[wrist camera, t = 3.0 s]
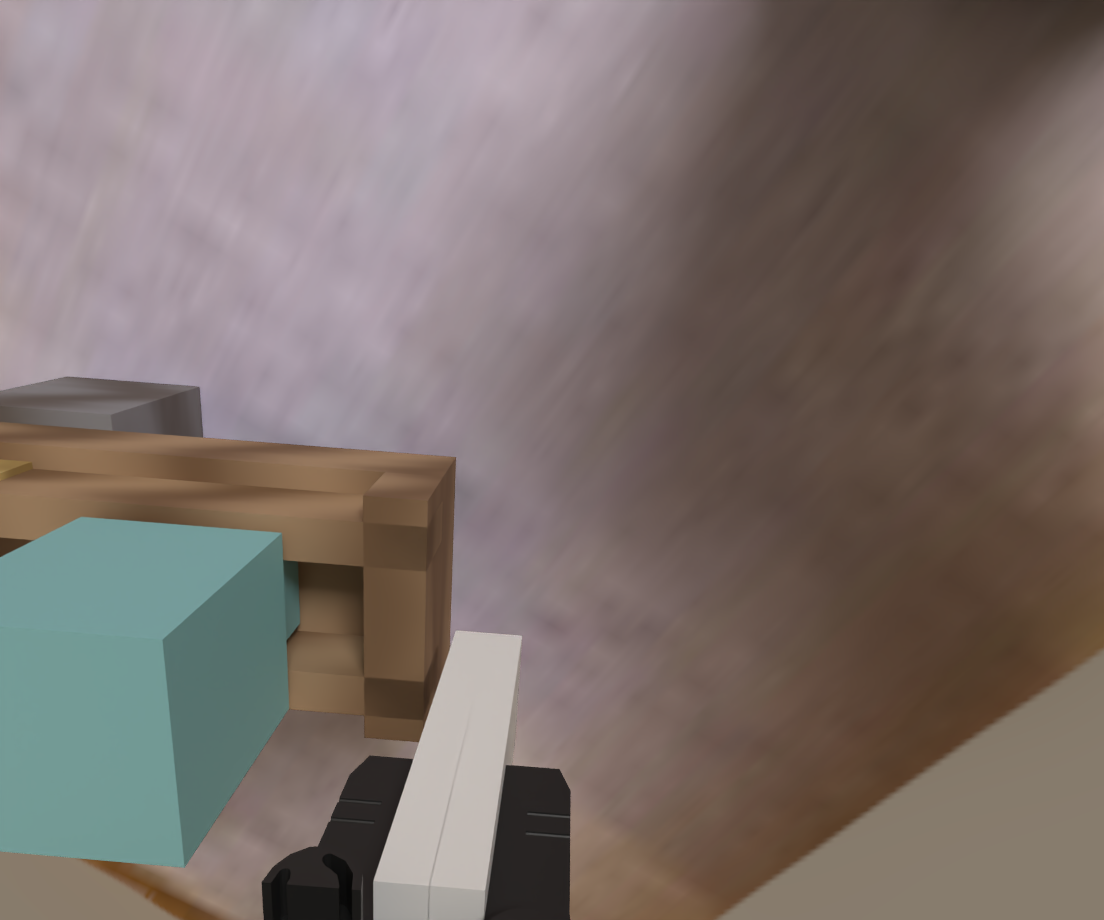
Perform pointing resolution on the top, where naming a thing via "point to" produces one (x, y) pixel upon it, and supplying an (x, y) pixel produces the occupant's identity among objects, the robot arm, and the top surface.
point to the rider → (137, 683)
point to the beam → (258, 527)
